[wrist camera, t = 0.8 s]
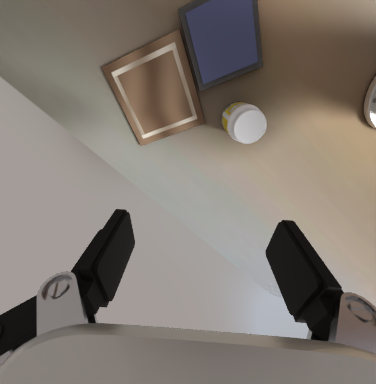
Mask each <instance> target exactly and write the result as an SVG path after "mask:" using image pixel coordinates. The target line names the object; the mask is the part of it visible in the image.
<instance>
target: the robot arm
mask: <svg viewBox="0 0 376 384" xmlns="http://www.w3.org/2000/svg"><path fill="white" fill-rule="evenodd" d="M364 115H365V118H366V120H367V122H368V123H369V124H370V125H371V126H372V127H374V128H376V76H375V77H374V79H373V81H372V83H371V84H370V86H369V89H368V91H367V94H366V97H365V102H364ZM134 245H135V240H134V234H133V229H132V224H131V219H130V214H129V212H127V211H126V210H121V209H116V210H115V211H114V213H113V215H112V216H111V217H110V219H109V220H108V222H107V223H106V225H105V226H104V228H103V229H101V230H99V232H98V233H97V234H96V236H95V237H94V238H93V240H92V241H91V243H90V244H89V246H88V247H87V249H86V250H85V251H84V253H83V254H82V256H81V257H80V259H79V260H78V262H77V263H76V264H75V266H74V267H73V269H72V270H71V272H68V271H66V272H61V273H58V274H56V275H54V276H52V277H50V278H49V279H48V280H47V281H45V282H44V283H43V285H42V286H41V287H40V289H39V291H38V294H37V295H36V296H34V297H33V298H31V299H29V300H27V301H25V302H24V303H22V304H20V305H18V306H16V307H14V308H12V309H11V310H9V311H7V312H5V313H3V314H2V315H0V384H376V307H375V306H374V305H373V304H371V303H370V302H369V301H368V300H366V299H365V298H363V297H361V296H359V295H357V294H355V293H351V292H345V293H344V292H343V291H342V289H341V288H342V287H341V286H340V285H339V283H338V282H337V280H336V279H335V278H334V276H333V275H332V273H331V272H330V271H329V269H328V268H327V266H326V265H325V264H324V262H323V261H322V259H321V258H320V257H319V255H318V254H317V252H316V251H315V250H314V248H313V247H312V246H311V244H310V243H309V241H308V240H307V239H306V237H305V236H304V234H303V233H302V232H301V230H300V229H299V227H298V226H297V225H296V223H295V222H294V221H289V220H282V221H281V222H279V223H278V225H277V227H276V229H275V232H274V234H273V236H272V238H271V240H270V243H269V245H268V247H267V249H266V257H267V259H268V262H269V264H270V266H271V269H272V271H273V274H274V276H275V279H276V281H277V284H278V286H279V289H280V291H281V294H282V296H283V299H284V301H285V303H286V306H287V308H288V311H289V313H290V314H291V315H293V316H294V319H295V322H301V323H307V326H308V328H309V331H308V335H307V339H300V338H290V337H278V336H266V335H253V334H243V333H230V332H217V331H205V330H192V329H180V328H179V329H178V328H165V327H152V326H139V325H123V324H122V325H121V324H104V323H98V322H97V318H96V313H97V311H98V309H99V307H107V305H108V303H109V301H112V300H113V298H114V296H115V293H116V291H117V288H118V286H119V283H120V281H121V278H122V275H123V273H124V270H125V268H126V265H127V263H128V261H129V258H130V256H131V253H132V251H133V248H134Z"/></svg>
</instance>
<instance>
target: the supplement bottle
mask: <svg viewBox="0 0 376 384" xmlns="http://www.w3.org/2000/svg"><path fill="white" fill-rule="evenodd" d="M222 125H223V127H224V129H225V130H226V132H227V133H228V134H229V135H230V137H231V138H232V139H234V140H235V141H238V142H241V143H244V144H250V143H254V142H256V141H257V140H259V139H260V138H261V137H262V136H263V134H264V132H265V130H266V127H267V121H266V118H265V116H264V114H263V113H262V112H261V111H260V110H259V108H257V107H256V106H254V105H251V104H247V103H243V102H234V103H231V104H230V105H228V106H227V107H226V108H225V110H224V112H223V114H222Z"/></svg>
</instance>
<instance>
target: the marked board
mask: <svg viewBox="0 0 376 384" xmlns="http://www.w3.org/2000/svg"><path fill="white" fill-rule="evenodd" d="M102 69H103V71H104V73H105V75H106V77H107V79H108V81H109V83H110V85H111V87H112V89H113V91H114V93H115V95H116V97H117V99H118V101H119V103H120V105H121V107H122V109H123V111H124V113H125V115H126V117H127V119H128V121H129V123H130V125H131V127H132V129H133V131H134V133H135V135H136V137H137V139H138V141H139V143H140V145H141V146H142V145H145V144H147V143H150V142H153V141H156V140H159V139H161V138H164V137H167V136H170V135H172V134H175V133H178V132H181V131H184V130H186V129H189V128H192V127H195V126H197V125H200V124H203V123H205V121H204V117H203V114H202V110H201V107H200V103H199V99H198V96H197V92H196V88H195V85H194V81H193V78H192V74H191V70H190V67H189V63H188V59H187V56H186V52H185V49H184V45H183V41H182V38H181V34H180V30H179V29H178V30H176V31H174V32H172V33H170V34H168V35H166V36H164V37H162V38H160V39H158V40H156V41H154V42H152V43H150V44H148V45H146V46H144V47H142V48H140V49H138V50H136V51H134V52H132V53H130V54H128V55H126V56H124V57H122V58H120V59H118V60H116V61H114V62H112V63H110V64H108V65H106V66H104V67H102Z"/></svg>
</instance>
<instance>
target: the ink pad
mask: <svg viewBox="0 0 376 384" xmlns="http://www.w3.org/2000/svg"><path fill="white" fill-rule="evenodd" d="M178 11H179V15H180V19H181V23H182V27H183V30H184V34H185V38H186V42H187V45H188V49H189V53H190V57H191V60H192V64H193V68H194V72H195V75H196V79H197V83H198V87H199V90H200V91H203V90H205V89H208V88H210V87H213V86H215V85H218V84H220V83H222V82H225V81H227V80H230V79H232V78H235V77H237V76H240V75H242V74H245V73H247V72H250V71H252V70H255V69H257V68H260V67H262V66H263V61H262V50H261V39H260V28H259V17H258V5H257V0H195V1H193V2H191V3H190V4H188V5H186V6H184V7H182V8H180V9H178Z"/></svg>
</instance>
